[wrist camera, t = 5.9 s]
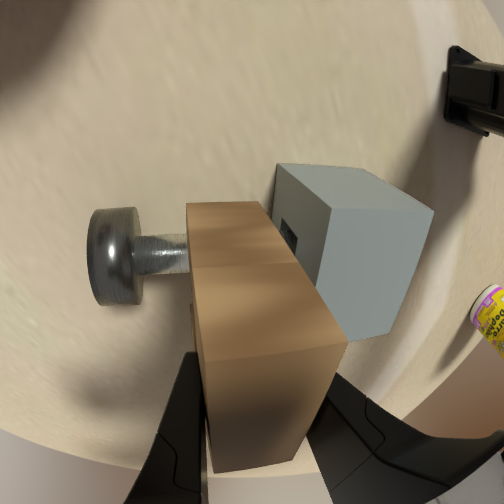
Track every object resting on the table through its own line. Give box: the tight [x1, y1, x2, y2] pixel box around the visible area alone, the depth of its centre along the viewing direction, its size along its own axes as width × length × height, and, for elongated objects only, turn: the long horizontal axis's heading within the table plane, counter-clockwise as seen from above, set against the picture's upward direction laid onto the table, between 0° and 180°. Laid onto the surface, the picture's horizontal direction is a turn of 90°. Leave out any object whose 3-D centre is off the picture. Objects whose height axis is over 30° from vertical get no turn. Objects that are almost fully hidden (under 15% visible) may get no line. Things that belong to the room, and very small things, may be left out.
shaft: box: [87, 207, 298, 306], centre depth 16 cm, size 13×5×5 cm, turn 85°
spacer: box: [186, 201, 349, 474], centre depth 11 cm, size 3×7×8 cm, turn 176°
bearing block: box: [272, 163, 435, 342], centre depth 17 cm, size 6×8×7 cm
